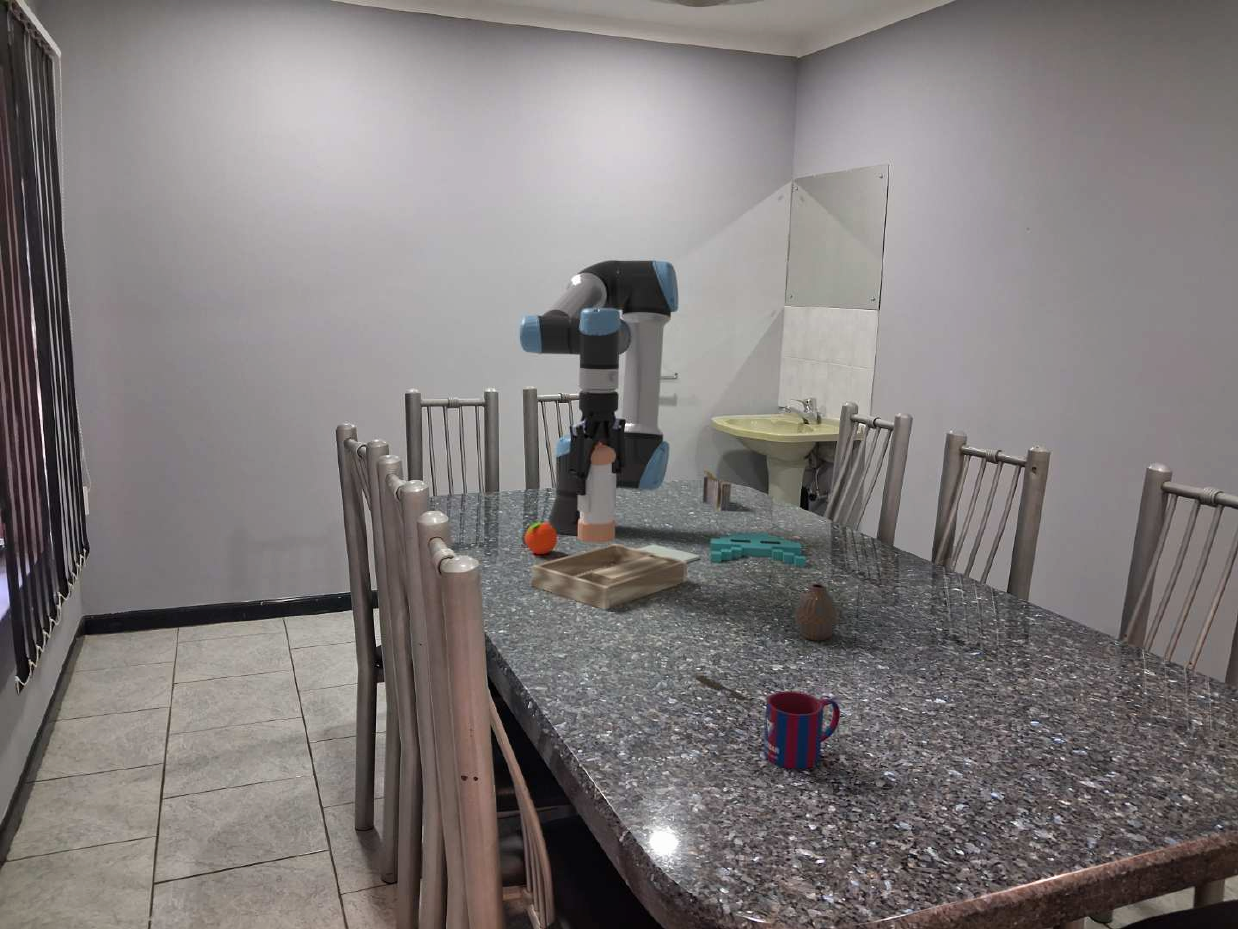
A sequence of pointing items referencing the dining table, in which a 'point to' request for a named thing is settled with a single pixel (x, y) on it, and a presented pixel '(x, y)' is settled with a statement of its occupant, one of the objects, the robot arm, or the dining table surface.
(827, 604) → the vase
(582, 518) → the salt shaker
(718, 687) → the thin brown sliver
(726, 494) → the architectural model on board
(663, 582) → the rack
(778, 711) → the mug
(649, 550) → the mat
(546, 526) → the clementine
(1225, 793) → the dining table surface
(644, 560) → the upper offcut
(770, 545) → the alien figure
